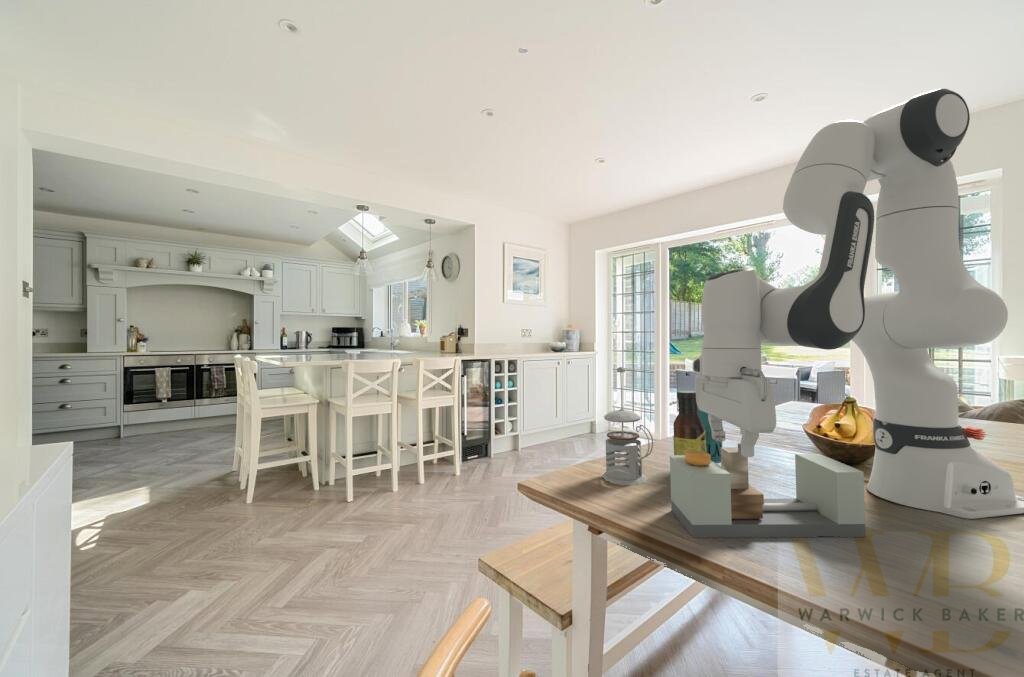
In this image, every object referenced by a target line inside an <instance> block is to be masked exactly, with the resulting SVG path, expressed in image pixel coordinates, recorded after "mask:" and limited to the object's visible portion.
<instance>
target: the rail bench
mask: <svg viewBox="0 0 1024 677" xmlns="http://www.w3.org/2000/svg"><path fill="white" fill-rule="evenodd" d="M794 456H795V458H794V459H795V460H794V461H795V462H794V463H795V492H796V493H795V494H796V495H795V496H796V498H795V497H794V498H764V505H762V506H763V519H732V517H731V483H730V473H729V472H727V471H726V470H724V469H723V468H721V465H718V463H714V462H713V461H711V464H709V465H703V466H693V464H690V463H687V462H685V455H674V454H673V455H669V468H670V469H669V471H670V472H669V473H670V474H669V475H670V503H671V504H670V506H671V507H670V508H671V512H672V513H673V514H674V516H675V517H676V518H677V519H678V521H679V522H680V523H681V524H682V526H683V527H684V528H685V529H686V531H687V532H688V534H690V536H691V537H692V538H695V539H698V538H818V537H817V536H840V537H839V538H866V536H867V535H866V507H865V505H866V504H865V472H864V471H862V470H860V469H857V468H855V467H853V466H850V465H847V464H846V463H844V462H843V463H842V462H841V461H838V460H835V459H833V458H830V457H828V456H826V455H822V454H821V453H817V452H816V453H795V454H794ZM815 536H816V537H815Z"/></svg>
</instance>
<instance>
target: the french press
mask: <svg viewBox="0 0 1024 677" xmlns="http://www.w3.org/2000/svg"><path fill="white" fill-rule="evenodd" d="M616 373H620V400H621V401H620V402H621V403H620V405H621V406H620V407H621V408H619V409H616V410H612V411H610V412H609V411H608V412H607V413H606V414H605V415H604V416H603V419H604V420H605V421H607V422H612V423H621V430H612V431H610V432H609V431H608V432H607V433H606V437H607V439H606V440H605V466H606V471H605V472H604V473H603V474H602V475H603V478H604V479H605V480H606V481H605V480H604V479H603V480H604V481H605V482H607V481H609V482H611V483H610V484H612V483H613V485H617V484H618V486H630V485H631V486H637V485H636V484H639V485H642V484H644V483H643V482H645V483H646V482H647V480H646V479H647V476H645V475H644V473H643V460H644V459H645V458H647V457H648V456H650V455H651V453H652V452H653V447H654V439H653V435H652V432H650V430H649V429H648V428H647V427H646V426H645V425H643V424H640V425H637V426H636V427H635V431H636V432H633V431H626V430H624V424H625V423H634V422H635V423H636V422H638V421H640V420H641V419H642V417H641V416H640V415H639V414H637V413H635V412H634V411H632V410H628V409H624V408H623V387H622V386H623V384H622V383H623V382H622V381H623V380H622V373H626V369H625V368H624V367H623V366H619V367H617V368H616ZM638 428H639V429H638ZM643 428H644V429H645V430H646V431H647V432H648V433H649V435H650V438H649V436H648V434H647V432H646V431H645V430H644V429H643ZM641 430H642V431H643V433H644V434H645V436H646V439H647V443H648V444H647V445H648V447H647V452H646V453H645V455H644V456H642V441H641V440H640V439H639V438H640V434H639V432H641ZM650 439H651V444H650ZM630 444H635V445H630ZM650 445H651V448H650ZM624 452H625V453H624ZM623 453H624V454H623ZM621 458H622V459H621ZM623 458H624V459H623ZM621 464H622V465H621ZM609 482H608V483H609ZM641 483H642V484H641Z"/></svg>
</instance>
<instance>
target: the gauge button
mask: <svg viewBox="0 0 1024 677" xmlns="http://www.w3.org/2000/svg"><path fill="white" fill-rule="evenodd" d="M685 462H687V463H690V464H693V466H703V465H709V464H711V455H710V454H708V453H705V452H700V451H688V452H685Z"/></svg>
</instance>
